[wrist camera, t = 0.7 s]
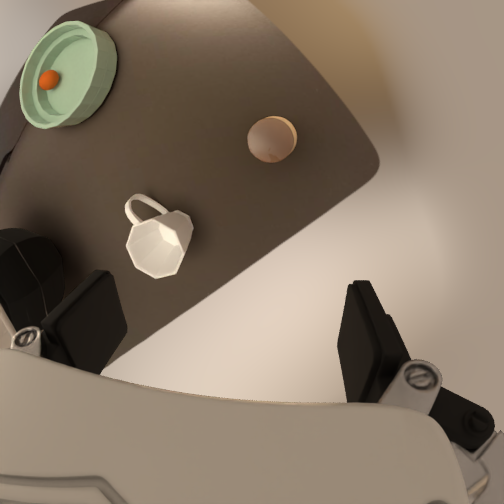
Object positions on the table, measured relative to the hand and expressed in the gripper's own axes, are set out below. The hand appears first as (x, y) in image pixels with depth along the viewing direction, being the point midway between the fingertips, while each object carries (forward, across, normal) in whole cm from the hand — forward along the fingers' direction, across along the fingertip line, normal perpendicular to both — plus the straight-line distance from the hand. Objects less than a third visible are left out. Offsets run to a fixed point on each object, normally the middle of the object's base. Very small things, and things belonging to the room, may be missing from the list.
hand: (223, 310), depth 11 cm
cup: (+25, +12, +4) cm, 28 cm away
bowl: (+25, +26, -18) cm, 41 cm away
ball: (+23, +30, -18) cm, 42 cm away
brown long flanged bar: (+25, -1, -6) cm, 26 cm away
